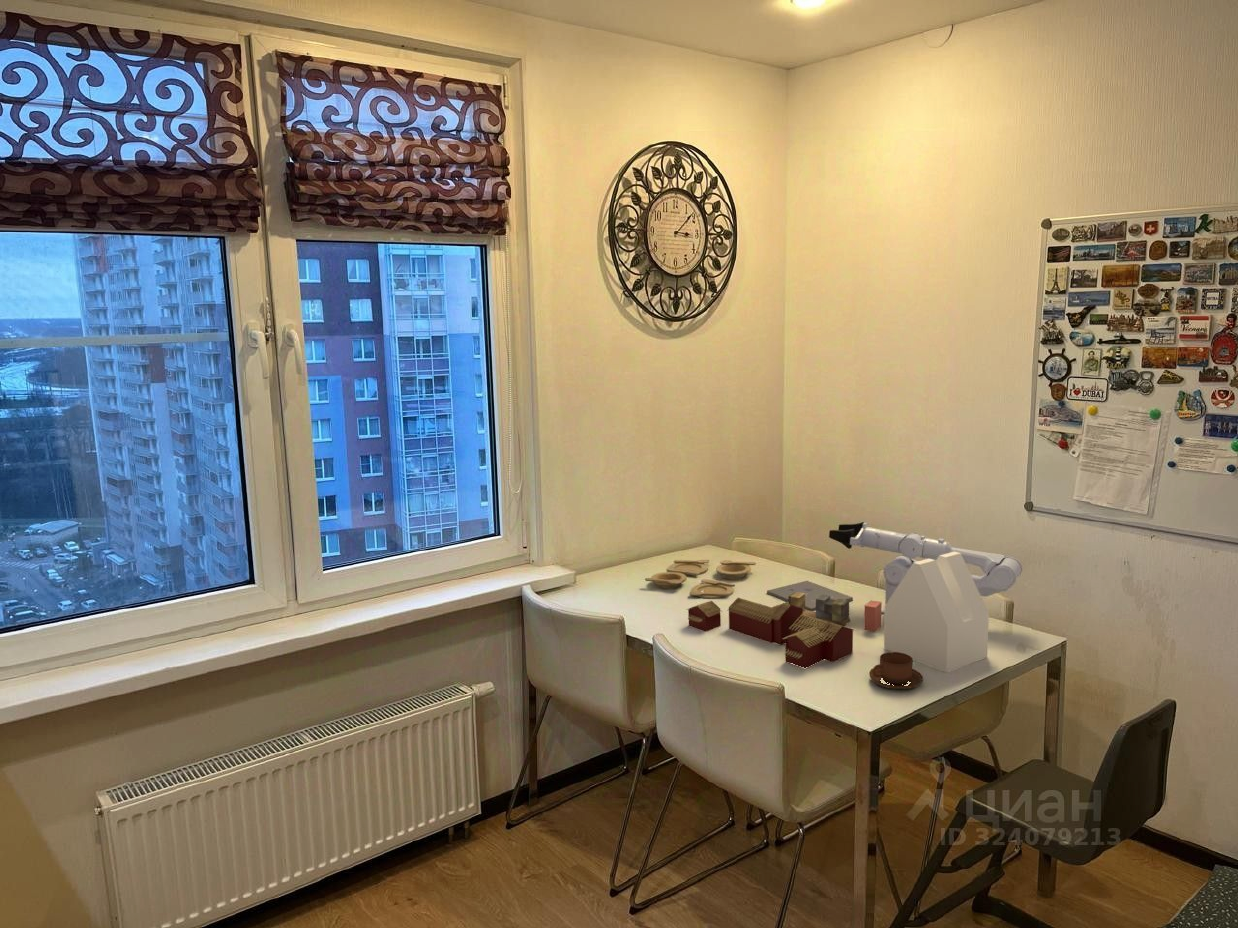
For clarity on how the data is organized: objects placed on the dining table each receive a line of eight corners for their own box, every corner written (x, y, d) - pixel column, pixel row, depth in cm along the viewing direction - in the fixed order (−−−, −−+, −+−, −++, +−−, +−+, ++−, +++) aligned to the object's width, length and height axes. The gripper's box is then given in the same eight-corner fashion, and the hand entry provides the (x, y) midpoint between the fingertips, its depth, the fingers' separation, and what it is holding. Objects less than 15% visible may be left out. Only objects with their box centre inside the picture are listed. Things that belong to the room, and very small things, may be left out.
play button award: (811, 608, 261) (766, 590, 278) (811, 613, 261) (767, 595, 278) (852, 597, 269) (806, 580, 286) (852, 602, 269) (806, 585, 286)
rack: (849, 620, 253) (849, 598, 251) (843, 626, 249) (844, 603, 248) (794, 611, 262) (794, 589, 261) (787, 616, 258) (787, 594, 257)
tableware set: (678, 562, 315) (678, 551, 315) (760, 570, 303) (759, 558, 302) (636, 593, 284) (636, 580, 284) (725, 604, 272) (724, 591, 271)
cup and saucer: (901, 698, 205) (901, 672, 203) (858, 681, 214) (858, 657, 213) (933, 683, 211) (934, 658, 210) (890, 667, 221) (891, 644, 220)
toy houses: (858, 650, 232) (859, 613, 231) (809, 674, 219) (809, 635, 217) (727, 610, 266) (727, 577, 264) (678, 628, 253) (677, 594, 251)
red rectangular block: (881, 626, 248) (881, 601, 247) (875, 632, 244) (875, 607, 243) (870, 624, 250) (870, 600, 248) (864, 630, 246) (864, 605, 244)
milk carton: (884, 648, 233) (885, 554, 228) (924, 634, 241) (926, 544, 236) (946, 672, 217) (949, 572, 212) (987, 657, 225) (990, 560, 220)
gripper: (889, 520, 263) (844, 512, 270) (873, 531, 251) (826, 523, 258) (886, 543, 264) (842, 535, 272) (871, 555, 253) (824, 546, 260)
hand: (834, 530), depth 265 cm, fingers open, 7 cm apart
